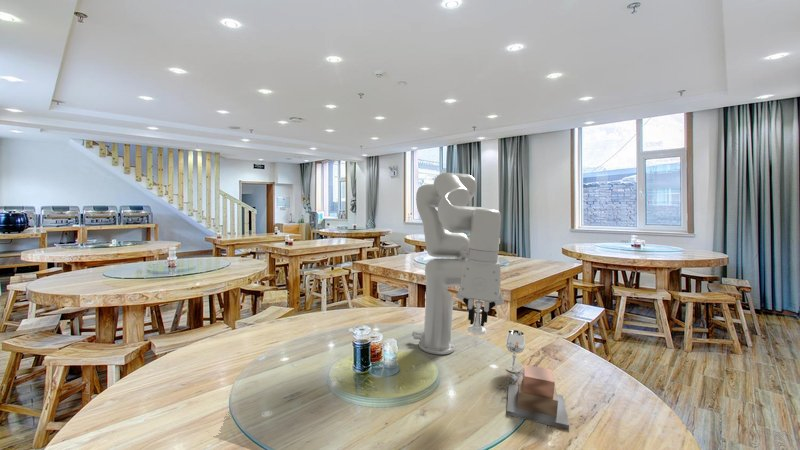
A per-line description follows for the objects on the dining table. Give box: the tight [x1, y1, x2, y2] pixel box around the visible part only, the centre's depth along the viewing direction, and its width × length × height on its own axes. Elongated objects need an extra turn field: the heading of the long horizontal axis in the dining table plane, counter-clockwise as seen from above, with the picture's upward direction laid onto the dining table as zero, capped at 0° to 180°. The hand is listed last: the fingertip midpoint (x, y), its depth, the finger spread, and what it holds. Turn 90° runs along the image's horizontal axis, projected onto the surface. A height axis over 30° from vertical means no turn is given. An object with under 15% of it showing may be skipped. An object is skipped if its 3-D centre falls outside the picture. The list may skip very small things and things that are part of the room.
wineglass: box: [505, 329, 526, 370], centre depth 112 cm, size 6×6×12 cm
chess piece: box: [467, 300, 487, 336], centre depth 95 cm, size 5×5×10 cm
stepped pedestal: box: [506, 364, 570, 430], centre depth 92 cm, size 14×14×9 cm
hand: (477, 323), depth 95 cm, fingers closed on chess piece
